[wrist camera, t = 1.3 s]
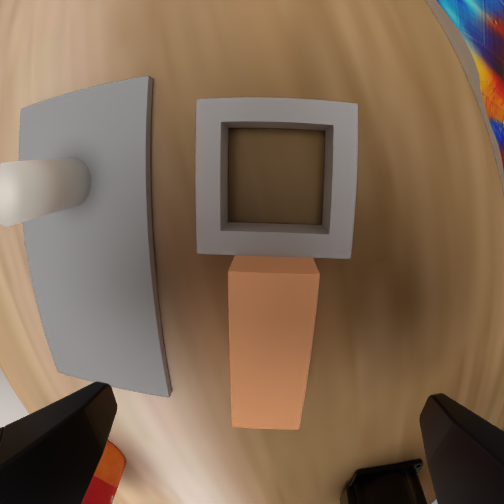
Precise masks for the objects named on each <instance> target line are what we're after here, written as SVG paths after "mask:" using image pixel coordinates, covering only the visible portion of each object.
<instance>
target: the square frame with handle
mask: <svg viewBox="0 0 504 504" xmlns="http://www.w3.org/2000/svg"><path fill="white" fill-rule="evenodd" d="M228 128H285V129H306V130H322V131H325V169H324V195H323V215H322V225H307V224H280V223H247V222H228ZM357 156H358V104H355V103H346V102H337V101H326V100H313V99H297V98H267V97H240V98H210V99H197V110H196V236H197V254H217V255H235V256H234V259H233V261H232V263H231V266H230V268H229V270H228V307H229V353H230V386H231V413H232V427H240V428H256V429H290V430H299V426H300V421H301V415H302V409H303V403H304V397H305V391H306V385H307V378H308V371H309V364H310V357H311V350H312V342H313V334H314V326H315V318H316V309H317V299H318V290H319V279H320V273H319V271H318V268H317V266H316V264H315V261H314V259H313V258H337V259H351V250H352V240H353V228H354V216H355V201H356V183H357Z"/></svg>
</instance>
